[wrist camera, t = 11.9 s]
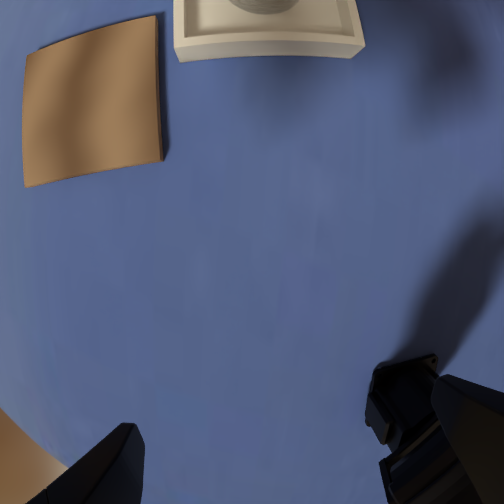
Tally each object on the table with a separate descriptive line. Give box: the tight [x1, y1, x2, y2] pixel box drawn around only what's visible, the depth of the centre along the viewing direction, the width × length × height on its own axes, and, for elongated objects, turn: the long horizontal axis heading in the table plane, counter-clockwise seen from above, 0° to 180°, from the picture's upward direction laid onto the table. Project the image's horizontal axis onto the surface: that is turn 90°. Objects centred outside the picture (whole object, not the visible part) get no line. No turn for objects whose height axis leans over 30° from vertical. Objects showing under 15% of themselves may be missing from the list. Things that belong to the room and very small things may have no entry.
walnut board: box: [22, 15, 164, 188], centre depth 16 cm, size 10×10×1 cm
